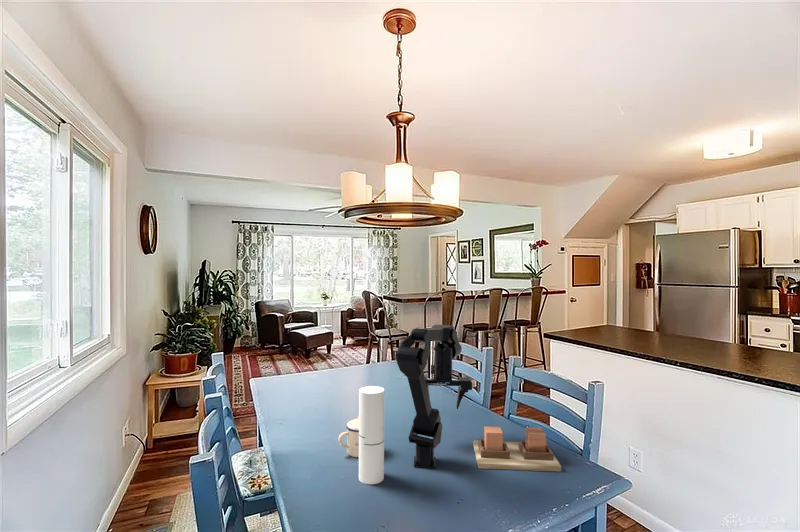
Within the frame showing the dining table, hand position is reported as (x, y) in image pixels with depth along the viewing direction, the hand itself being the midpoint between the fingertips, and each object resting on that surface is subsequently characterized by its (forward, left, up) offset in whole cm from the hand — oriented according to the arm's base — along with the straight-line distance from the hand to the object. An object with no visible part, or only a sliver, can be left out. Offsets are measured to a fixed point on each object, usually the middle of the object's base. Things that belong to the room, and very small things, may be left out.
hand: (443, 408), depth 140 cm
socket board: (-8, -22, -12) cm, 26 cm away
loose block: (-8, -15, -10) cm, 20 cm away
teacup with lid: (-9, +28, -12) cm, 32 cm away
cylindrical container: (-24, +21, -12) cm, 34 cm away
